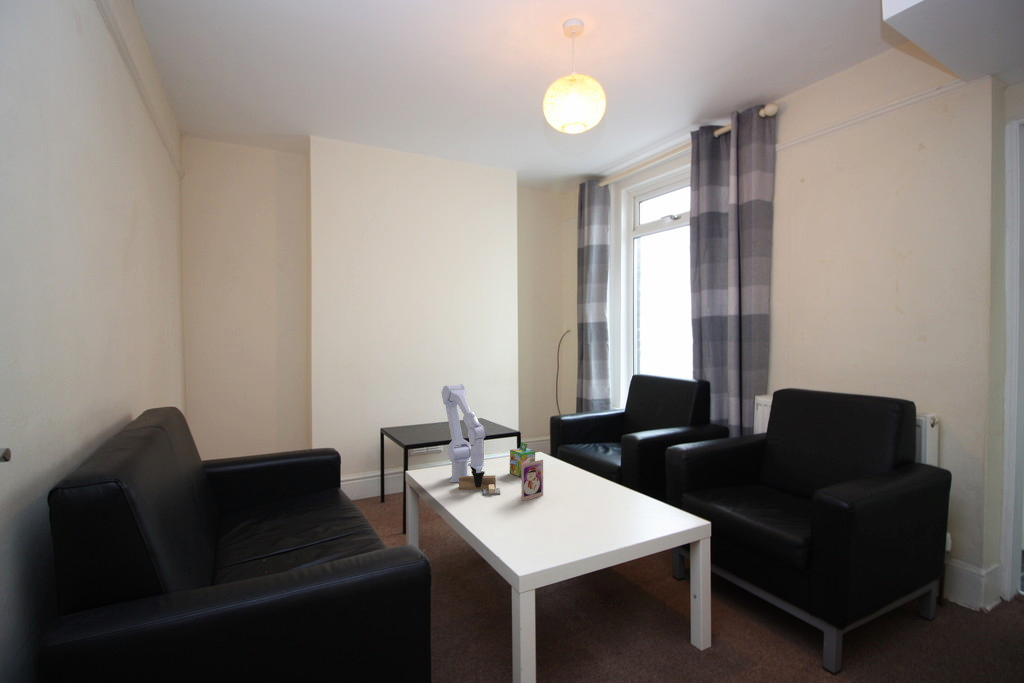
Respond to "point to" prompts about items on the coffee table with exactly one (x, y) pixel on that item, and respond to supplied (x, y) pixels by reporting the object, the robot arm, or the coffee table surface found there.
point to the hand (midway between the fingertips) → (477, 484)
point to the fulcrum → (491, 490)
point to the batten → (469, 482)
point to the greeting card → (531, 479)
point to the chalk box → (520, 458)
